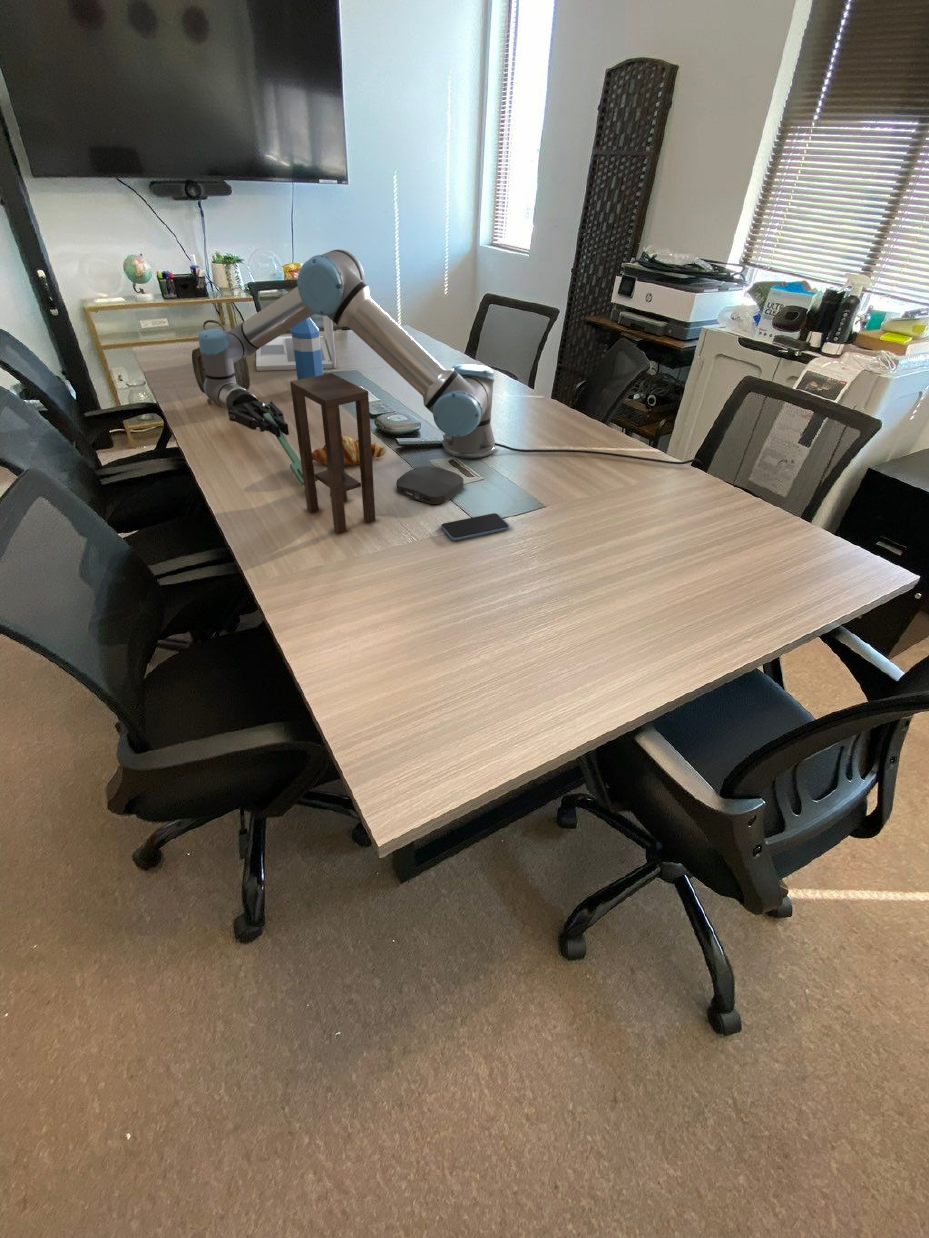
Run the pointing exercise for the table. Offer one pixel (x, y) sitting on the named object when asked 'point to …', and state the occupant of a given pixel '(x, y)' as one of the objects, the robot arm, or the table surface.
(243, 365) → the tabletop clock
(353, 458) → the croissant
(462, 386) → the robot arm
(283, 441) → the fork
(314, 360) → the water bottle
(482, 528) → the smartphone
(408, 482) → the media streaming box
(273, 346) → the laptop
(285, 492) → the table surface
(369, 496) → the plant stand
